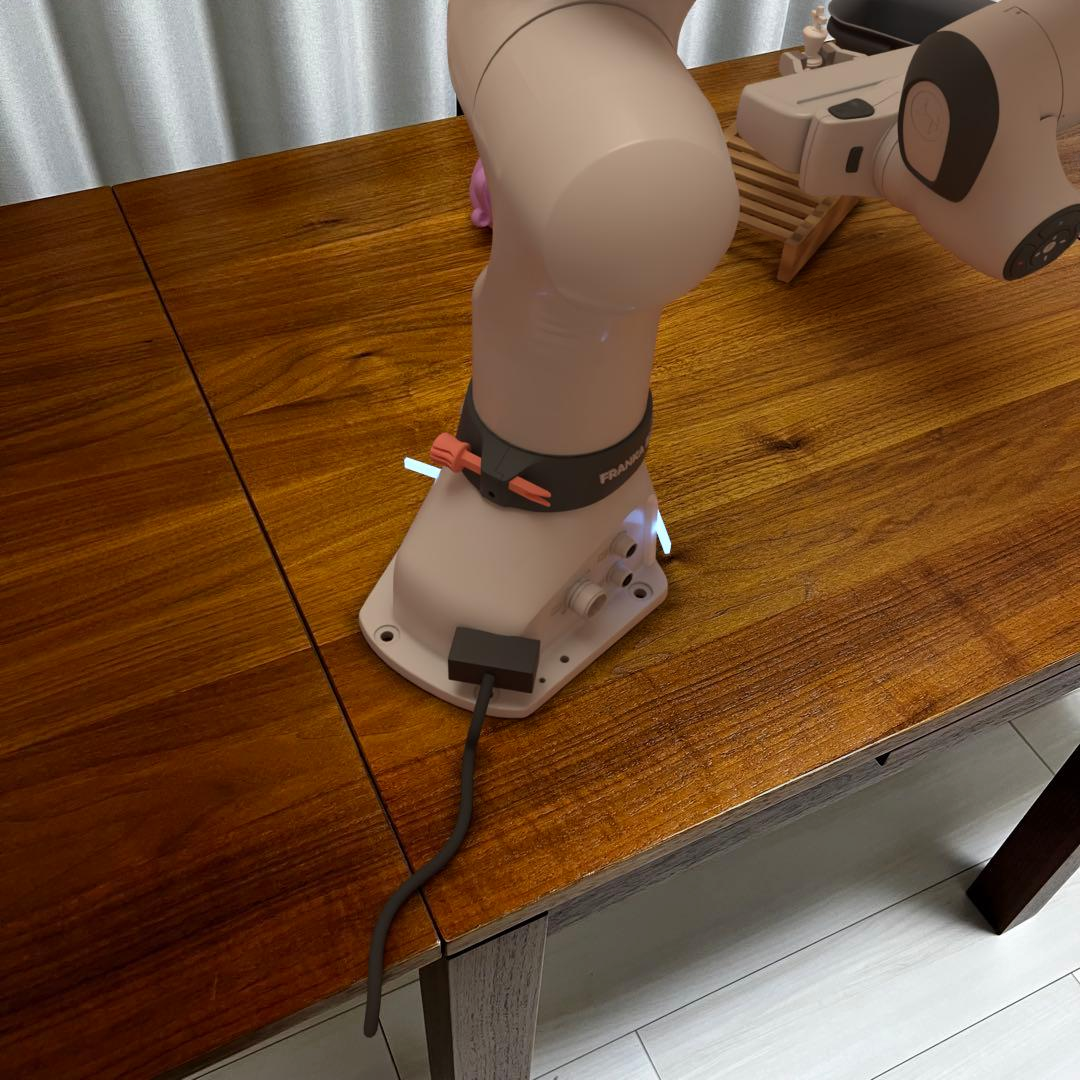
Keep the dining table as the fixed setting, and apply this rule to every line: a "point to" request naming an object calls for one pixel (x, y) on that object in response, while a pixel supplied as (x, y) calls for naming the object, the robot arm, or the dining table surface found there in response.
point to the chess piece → (814, 38)
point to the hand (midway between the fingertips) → (802, 55)
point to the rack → (783, 206)
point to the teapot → (480, 198)
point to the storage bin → (892, 22)
